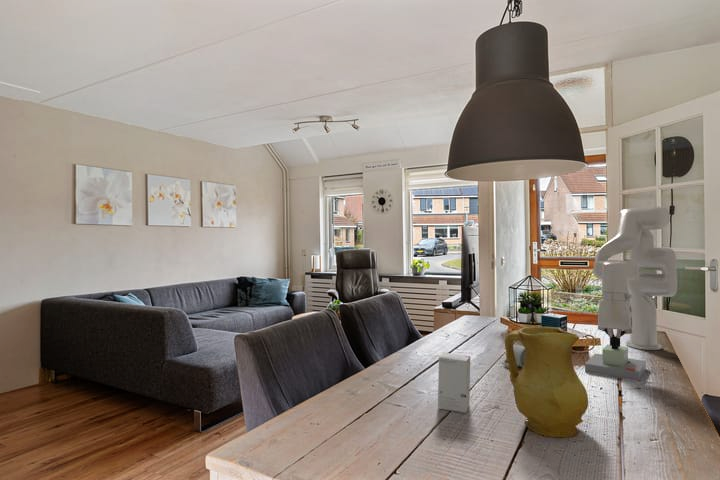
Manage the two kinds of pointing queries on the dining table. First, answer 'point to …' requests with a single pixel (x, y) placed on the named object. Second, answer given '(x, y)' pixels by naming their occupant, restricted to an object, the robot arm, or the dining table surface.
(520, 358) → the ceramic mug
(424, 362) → the dining table surface
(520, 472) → the dining table surface
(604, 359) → the plug
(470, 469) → the dining table surface
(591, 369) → the socket plate
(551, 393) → the pitcher
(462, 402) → the skincare box
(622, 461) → the dining table surface
